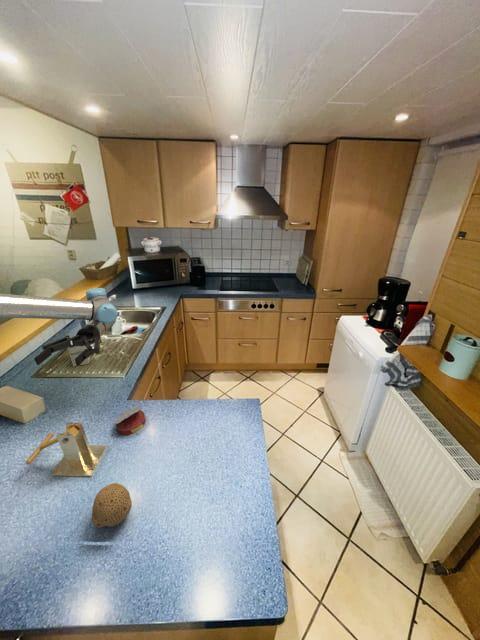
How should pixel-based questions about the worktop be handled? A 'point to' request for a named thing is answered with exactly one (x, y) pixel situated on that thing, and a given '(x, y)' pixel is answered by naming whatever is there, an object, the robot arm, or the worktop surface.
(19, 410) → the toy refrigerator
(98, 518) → the natural sponge
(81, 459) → the bracket
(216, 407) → the worktop surface
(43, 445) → the lever
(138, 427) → the canned food
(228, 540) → the worktop surface
